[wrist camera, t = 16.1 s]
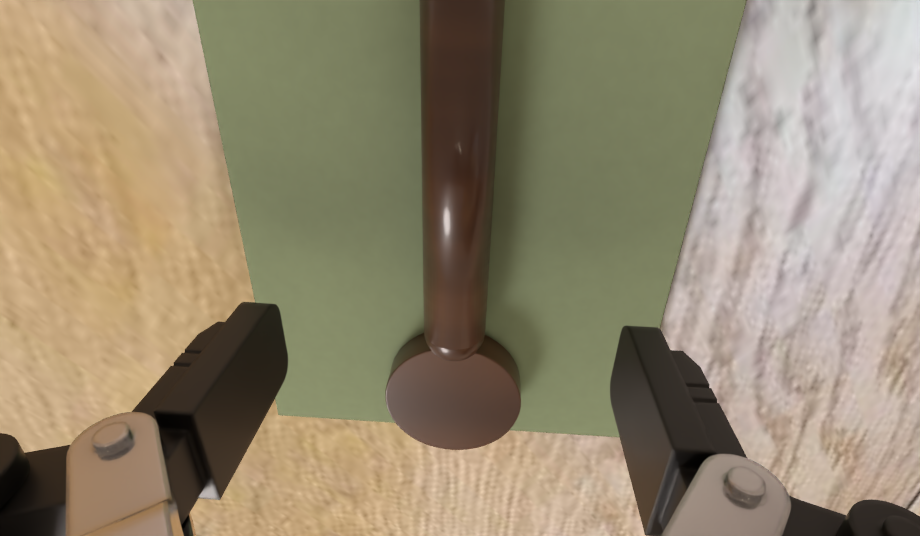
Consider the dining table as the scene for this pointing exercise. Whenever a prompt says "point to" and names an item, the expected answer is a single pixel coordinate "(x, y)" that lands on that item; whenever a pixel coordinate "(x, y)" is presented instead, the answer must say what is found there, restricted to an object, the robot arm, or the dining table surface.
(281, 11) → the placemat
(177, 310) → the dining table surface
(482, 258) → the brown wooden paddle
